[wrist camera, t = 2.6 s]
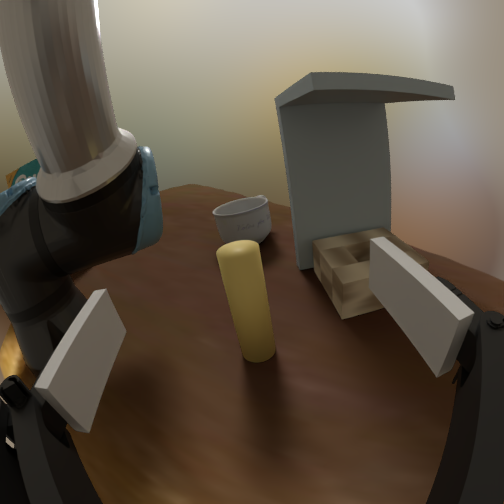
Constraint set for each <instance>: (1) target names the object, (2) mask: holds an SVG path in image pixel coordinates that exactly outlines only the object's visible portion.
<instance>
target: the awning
mask: <svg viewBox="0 0 504 504" xmlns="http://www.w3.org/2000/svg"><path fill="white" fill-rule="evenodd" d="M424 100H455V95H454V89H453V86H450V85H445V84H440V83H436V82H430V81H425V80H419V79H413V78H406V77H399V76H389V75H380V74H367V73H346V72H343V73H342V72H314V73H313V72H311V73H309V74H308V75H306V76H305V77H303V78H302V79H300V80H299V81H298V82H296V83H295V84H293V85H292V86H291V87H289V88H288V89H286V90H285V91H284V92H282V93H281V94H280V95H278V96H277V97H276V98H275V103H276V110H277V115H278V122H279V127H280V134H281V141H282V147H283V154H284V161H285V168H286V175H287V183H288V190H289V198H290V206H291V214H292V223H293V232H294V241H295V250H296V260H297V265H298V267H299V269H300V270H303V269H308V268H313V267H314V261H313V247H312V241H313V240H318V239H324V238H329V237H334V236H340V235H345V234H351V233H356V232H361V231H367V230H372V229H378V228H383V227H384V228H385V229H387V230H388V231H389V232H390V231H391V172H390V152H389V139H388V129H387V119H386V111H385V104H384V103H394V102H406V101H424Z"/></svg>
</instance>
